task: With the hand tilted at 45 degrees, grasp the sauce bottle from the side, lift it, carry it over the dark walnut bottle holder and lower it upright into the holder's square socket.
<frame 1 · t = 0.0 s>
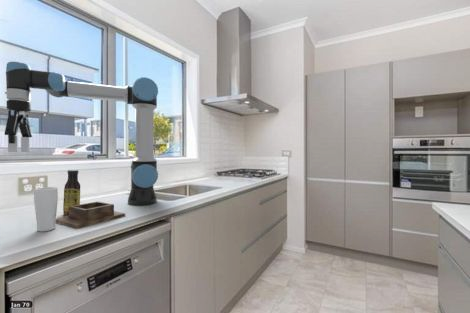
hand: (19, 152, 100), 28 cm above the counter, tool pointing down, fingers open, 13 cm apart
walnut bottle holder: (91, 218, 101), on the counter
drinking glass: (46, 230, 87), on the counter
sauce bottle: (72, 214, 109), on the counter
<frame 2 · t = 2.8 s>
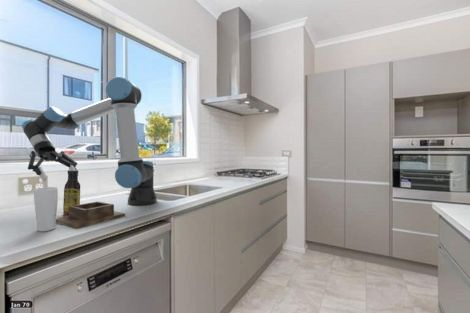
hand: (61, 178, 111), 16 cm above the counter, tool tilted 45°, fingers open, 13 cm apart
nothing on the counter moved.
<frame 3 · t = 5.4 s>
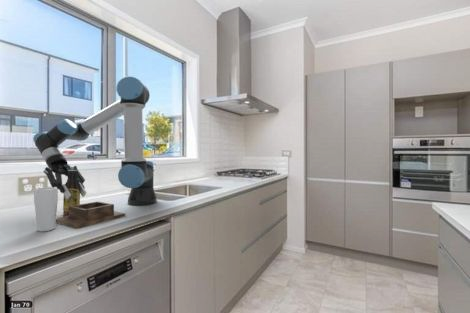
hand: (77, 196, 107), 8 cm above the counter, tool tilted 45°, fingers closed on sauce bottle, 6 cm apart
sauce bottle: (72, 214, 109), on the counter, touching gripper
everything else where it was.
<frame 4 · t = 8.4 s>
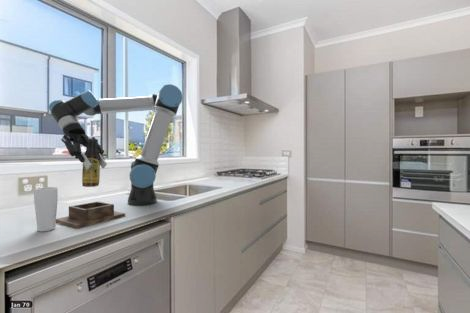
hand: (97, 166, 99), 22 cm above the counter, tool tilted 45°, fingers closed on sauce bottle, 6 cm apart
sauce bottle: (91, 186, 101), point 14 cm above the counter, touching gripper
everything else where it was.
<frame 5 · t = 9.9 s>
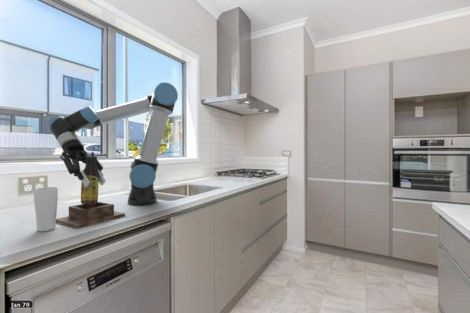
hand: (95, 183, 99), 15 cm above the counter, tool tilted 45°, fingers closed on sauce bottle, 6 cm apart
sauce bottle: (90, 203, 101), point 6 cm above the counter, touching gripper
everything else where it was.
when the fingers open (11 cm above the counter, at t = 11.3 s): sauce bottle drops 1 cm, resting on walnut bottle holder.
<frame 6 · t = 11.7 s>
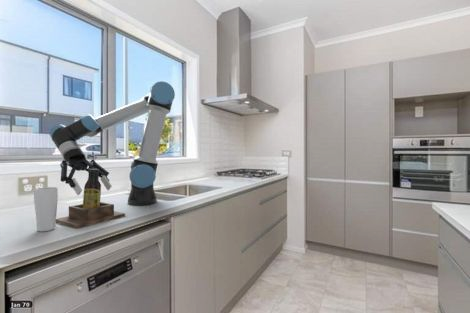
hand: (95, 190, 100), 12 cm above the counter, tool tilted 45°, fingers open, 12 cm apart
sauce bottle: (91, 216, 101), point 1 cm above the counter, touching walnut bottle holder
everything else where it was.
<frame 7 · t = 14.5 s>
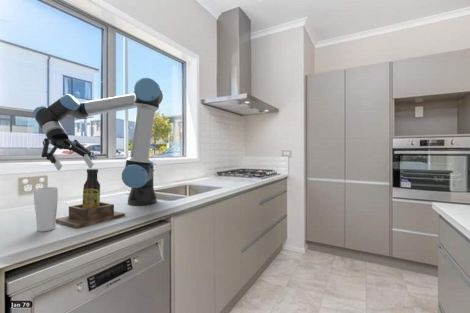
hand: (76, 167, 104), 22 cm above the counter, tool tilted 45°, fingers open, 13 cm apart
nothing on the counter moved.
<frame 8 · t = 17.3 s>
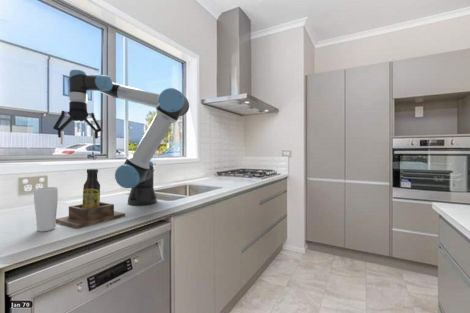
hand: (78, 144, 120), 32 cm above the counter, tool pointing down, fingers open, 13 cm apart
nothing on the counter moved.
at the end: sauce bottle 0.1 cm off-centre on the walnut bottle holder, point 1.0 cm above the walnut bottle holder's base; sauce bottle tilted 0°; the gripper is holding nothing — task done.
